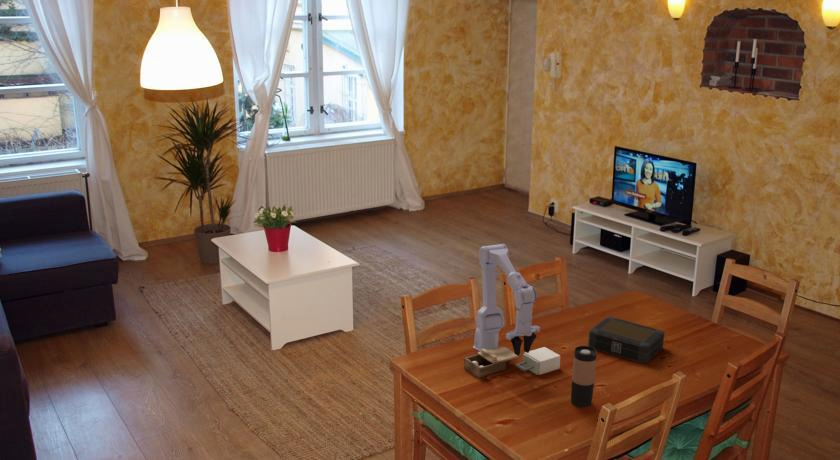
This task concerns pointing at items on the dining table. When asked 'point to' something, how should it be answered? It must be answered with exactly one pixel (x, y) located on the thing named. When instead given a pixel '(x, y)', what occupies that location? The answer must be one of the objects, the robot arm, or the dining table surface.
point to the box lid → (497, 354)
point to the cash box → (626, 339)
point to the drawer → (529, 364)
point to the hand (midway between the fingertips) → (521, 353)
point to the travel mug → (583, 376)
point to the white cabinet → (545, 359)
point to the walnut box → (482, 371)
